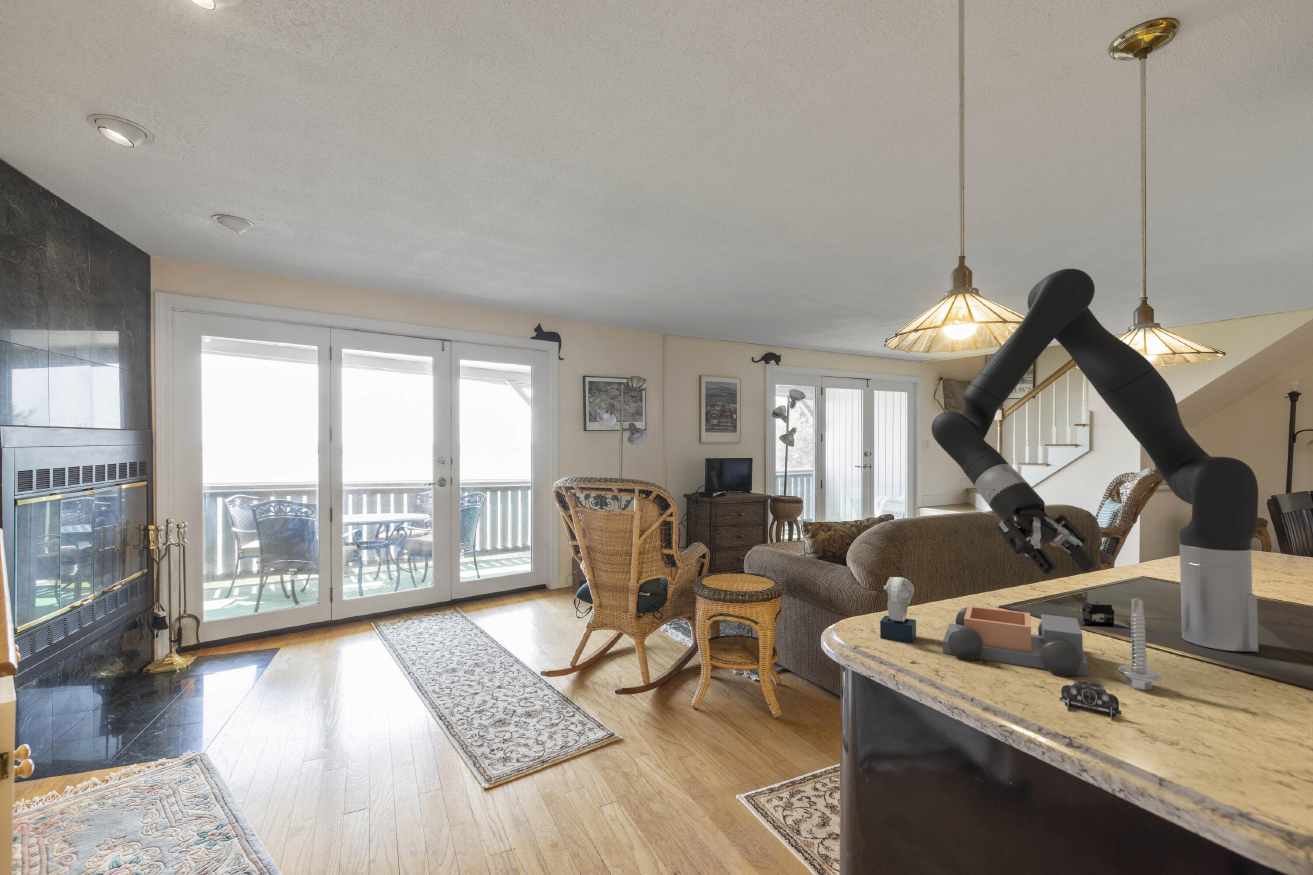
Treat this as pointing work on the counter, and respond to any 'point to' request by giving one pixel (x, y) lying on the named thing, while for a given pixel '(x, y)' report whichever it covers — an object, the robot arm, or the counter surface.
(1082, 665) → the toy chassis
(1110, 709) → the car cutout
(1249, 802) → the counter surface
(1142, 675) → the screw
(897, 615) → the bust statue
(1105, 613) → the black boxy piece
